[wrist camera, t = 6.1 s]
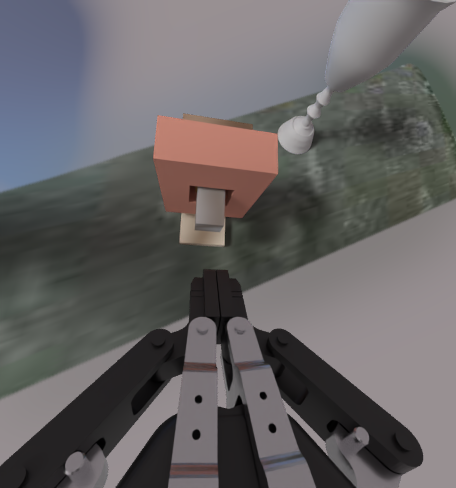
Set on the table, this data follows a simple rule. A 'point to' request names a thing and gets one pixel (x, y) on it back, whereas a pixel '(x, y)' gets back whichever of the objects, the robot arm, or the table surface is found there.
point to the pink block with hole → (213, 163)
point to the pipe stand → (207, 204)
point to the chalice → (362, 53)
